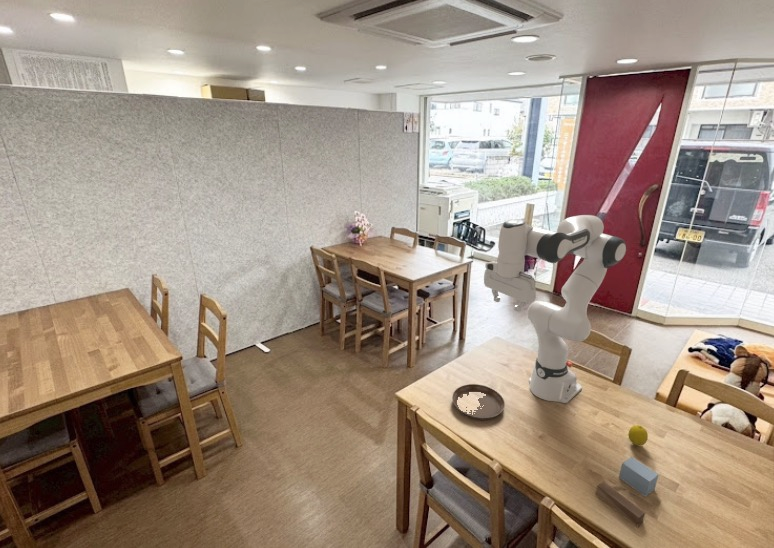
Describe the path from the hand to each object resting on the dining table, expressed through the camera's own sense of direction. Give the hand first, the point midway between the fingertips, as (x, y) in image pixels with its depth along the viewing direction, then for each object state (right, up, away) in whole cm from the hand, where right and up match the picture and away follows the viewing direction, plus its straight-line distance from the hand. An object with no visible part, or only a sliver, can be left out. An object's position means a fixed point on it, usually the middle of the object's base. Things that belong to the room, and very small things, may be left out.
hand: (506, 305), depth 132 cm
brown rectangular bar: (+26, -57, -22) cm, 66 cm away
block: (+36, -54, -14) cm, 67 cm away
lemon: (+45, -49, +1) cm, 67 cm away
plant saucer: (-5, -43, +22) cm, 49 cm away
